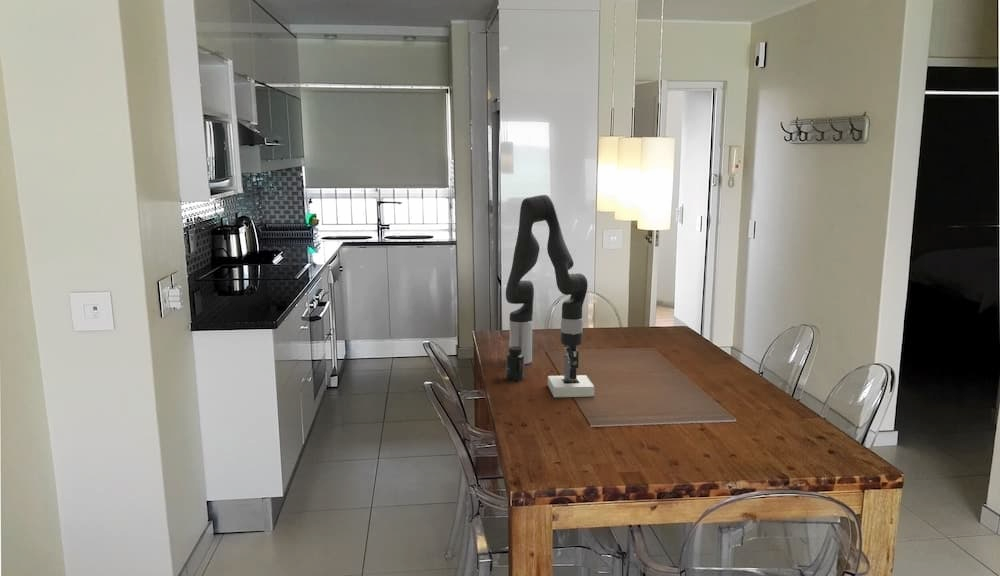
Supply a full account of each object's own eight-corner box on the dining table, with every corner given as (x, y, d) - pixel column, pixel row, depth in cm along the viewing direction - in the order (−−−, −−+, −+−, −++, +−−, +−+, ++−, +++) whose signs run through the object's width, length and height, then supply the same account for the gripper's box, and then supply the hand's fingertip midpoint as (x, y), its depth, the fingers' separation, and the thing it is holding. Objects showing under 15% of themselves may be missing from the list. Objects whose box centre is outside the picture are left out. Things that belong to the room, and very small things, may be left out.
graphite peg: (562, 388, 260) (563, 355, 258) (575, 387, 260) (575, 355, 258) (565, 391, 255) (565, 358, 253) (577, 391, 256) (578, 358, 254)
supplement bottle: (502, 379, 270) (502, 348, 268) (510, 375, 276) (511, 344, 274) (519, 382, 267) (519, 350, 265) (527, 377, 273) (527, 346, 271)
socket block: (547, 385, 264) (547, 375, 263) (585, 384, 265) (586, 375, 265) (554, 397, 250) (554, 387, 250) (594, 396, 251) (594, 386, 251)
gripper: (557, 326, 261) (556, 370, 263) (564, 335, 247) (563, 381, 249) (578, 325, 261) (577, 369, 264) (586, 334, 247) (585, 381, 250)
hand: (570, 375), depth 257 cm, fingers open, 8 cm apart
